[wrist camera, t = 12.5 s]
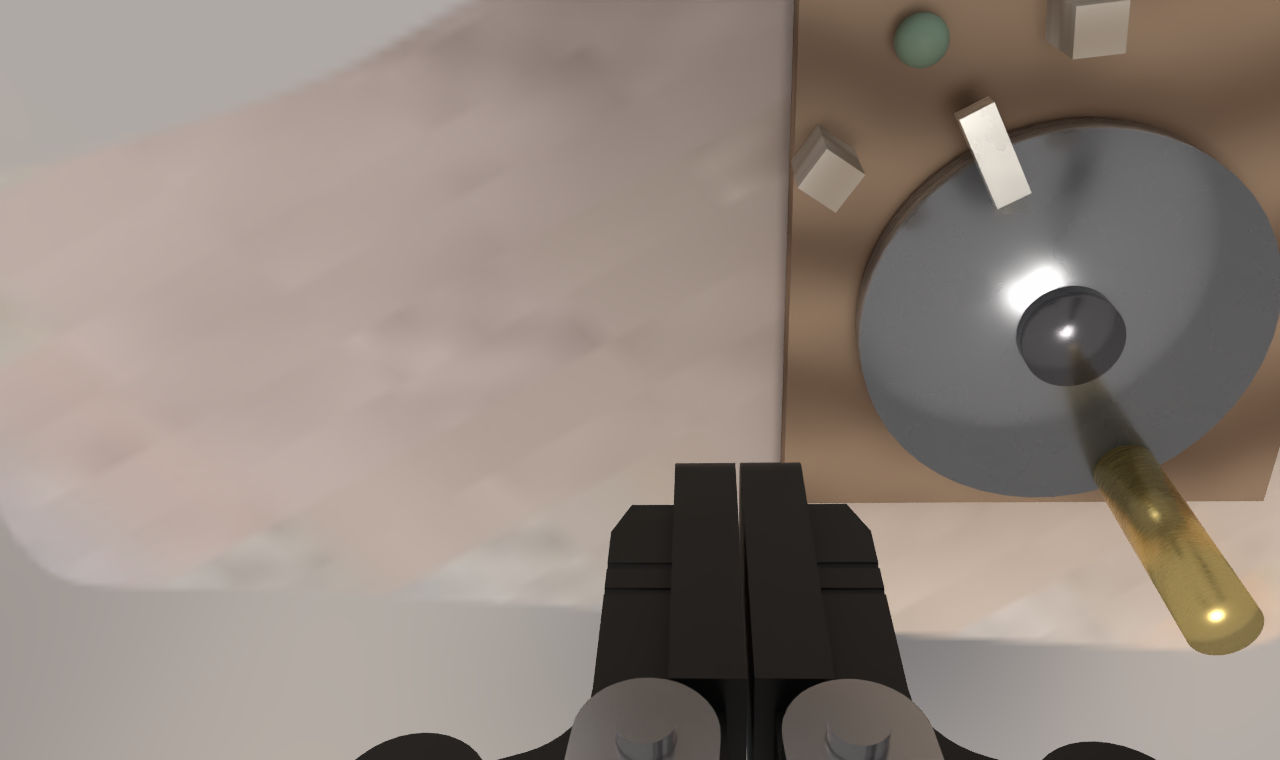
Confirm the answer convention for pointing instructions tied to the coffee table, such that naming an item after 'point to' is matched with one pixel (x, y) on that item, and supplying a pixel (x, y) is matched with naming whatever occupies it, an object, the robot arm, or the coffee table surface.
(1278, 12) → the turntable
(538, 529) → the coffee table surface
